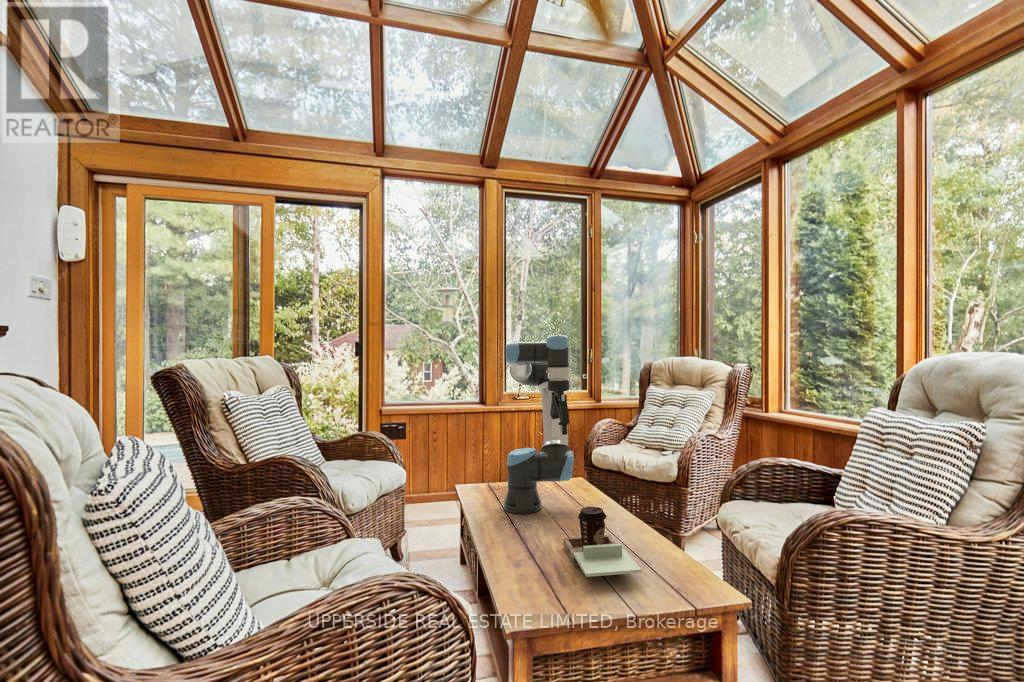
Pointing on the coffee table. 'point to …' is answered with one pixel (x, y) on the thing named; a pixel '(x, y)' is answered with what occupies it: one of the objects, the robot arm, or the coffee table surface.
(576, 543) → the box
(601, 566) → the lid
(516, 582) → the coffee table surface
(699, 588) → the coffee table surface
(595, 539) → the coffee cup
